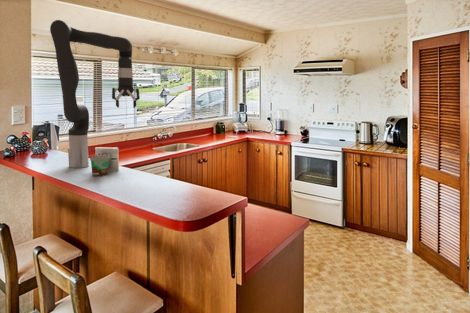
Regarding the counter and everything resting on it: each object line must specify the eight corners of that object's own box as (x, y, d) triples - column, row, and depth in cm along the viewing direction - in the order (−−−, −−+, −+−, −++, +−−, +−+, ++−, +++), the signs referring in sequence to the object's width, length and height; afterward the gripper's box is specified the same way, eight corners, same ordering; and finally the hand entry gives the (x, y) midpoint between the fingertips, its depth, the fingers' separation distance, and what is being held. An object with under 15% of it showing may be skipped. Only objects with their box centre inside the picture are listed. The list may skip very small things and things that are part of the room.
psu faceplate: (95, 171, 183) (95, 148, 181) (96, 170, 185) (95, 147, 183) (118, 171, 185) (117, 148, 183) (118, 170, 187) (118, 147, 185)
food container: (102, 177, 170) (102, 156, 168) (90, 176, 171) (89, 156, 169) (114, 172, 182) (114, 152, 180) (103, 171, 183) (102, 152, 181)
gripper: (139, 78, 198) (140, 107, 200) (113, 77, 195) (113, 107, 198) (138, 77, 190) (138, 108, 193) (110, 76, 188) (111, 107, 191)
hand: (126, 107), depth 195 cm, fingers open, 8 cm apart
